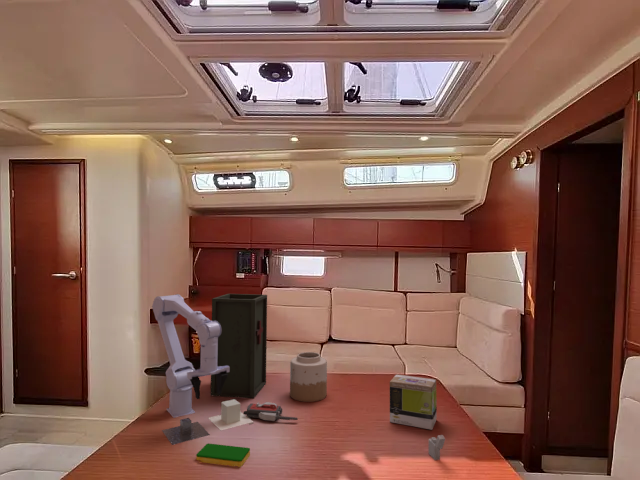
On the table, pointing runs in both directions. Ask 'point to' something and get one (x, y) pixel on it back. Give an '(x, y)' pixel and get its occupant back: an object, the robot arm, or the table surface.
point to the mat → (222, 425)
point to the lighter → (436, 446)
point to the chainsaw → (266, 411)
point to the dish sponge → (223, 455)
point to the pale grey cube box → (230, 411)
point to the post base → (185, 432)
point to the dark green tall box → (241, 343)
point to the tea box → (413, 401)
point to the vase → (308, 377)
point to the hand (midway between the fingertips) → (208, 395)
